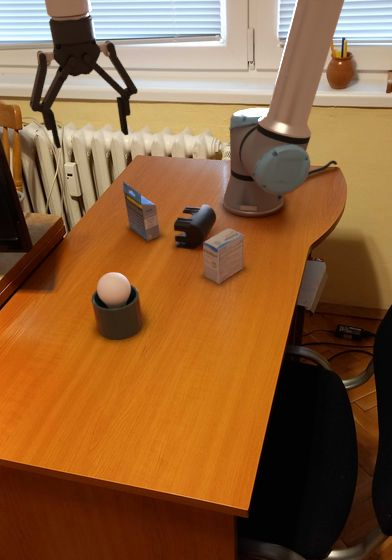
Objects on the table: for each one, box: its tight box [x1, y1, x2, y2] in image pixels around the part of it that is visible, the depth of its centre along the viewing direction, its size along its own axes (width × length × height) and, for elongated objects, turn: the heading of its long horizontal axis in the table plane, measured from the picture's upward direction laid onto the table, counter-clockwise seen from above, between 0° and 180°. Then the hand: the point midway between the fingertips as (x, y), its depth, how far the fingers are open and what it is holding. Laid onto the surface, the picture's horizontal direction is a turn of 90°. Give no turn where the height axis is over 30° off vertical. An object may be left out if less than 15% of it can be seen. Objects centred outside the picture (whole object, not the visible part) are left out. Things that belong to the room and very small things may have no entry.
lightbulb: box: [96, 271, 131, 309], centre depth 103 cm, size 6×6×11 cm
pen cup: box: [91, 284, 144, 341], centre depth 105 cm, size 9×9×7 cm
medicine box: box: [202, 227, 245, 285], centre depth 116 cm, size 8×4×9 cm, turn 134°
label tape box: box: [122, 180, 161, 242], centre depth 130 cm, size 9×4×12 cm, turn 34°
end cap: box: [173, 203, 217, 250], centre depth 128 cm, size 10×7×7 cm
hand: (91, 139), depth 109 cm, fingers open, 13 cm apart
